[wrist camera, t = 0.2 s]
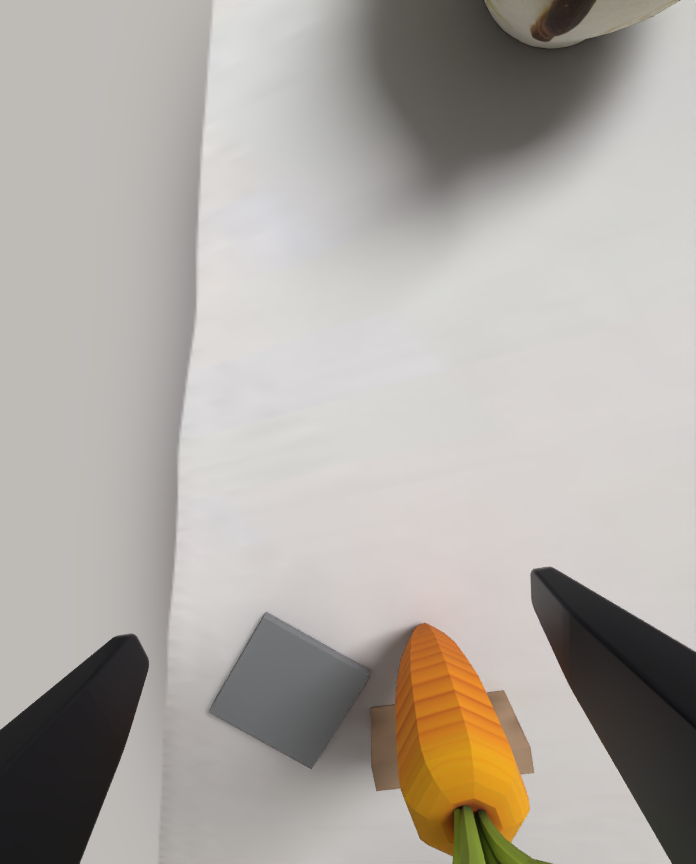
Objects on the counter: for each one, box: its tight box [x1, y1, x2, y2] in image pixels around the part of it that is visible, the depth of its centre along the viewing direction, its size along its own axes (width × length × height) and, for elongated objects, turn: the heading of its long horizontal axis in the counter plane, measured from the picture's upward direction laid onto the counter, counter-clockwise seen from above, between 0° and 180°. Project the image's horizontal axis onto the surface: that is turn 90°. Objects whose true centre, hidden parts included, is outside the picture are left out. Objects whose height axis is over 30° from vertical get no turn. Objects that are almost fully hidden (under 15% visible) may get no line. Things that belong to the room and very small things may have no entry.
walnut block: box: [371, 691, 534, 791], centre depth 23 cm, size 9×2×4 cm, turn 100°
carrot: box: [395, 623, 551, 864], centre depth 17 cm, size 5×5×15 cm
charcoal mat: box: [209, 612, 370, 769], centre depth 25 cm, size 8×8×1 cm
